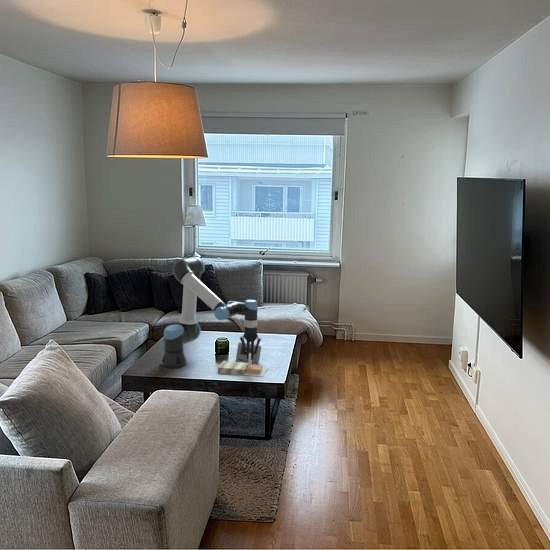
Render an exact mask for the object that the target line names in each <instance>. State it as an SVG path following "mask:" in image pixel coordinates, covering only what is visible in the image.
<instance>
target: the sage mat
mask: <svg viewBox="0 0 550 550" xmlns="http://www.w3.org/2000/svg"><path fill="white" fill-rule="evenodd" d="M267 370H269V368H268V367H262V371H261V372H260V374H255V373H245V374H244V376H248V377H257V376H258V377H259V378H264V376H265V374H266V373H265V372H267Z"/></svg>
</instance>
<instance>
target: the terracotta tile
mask: <svg viewBox="0 0 550 550" xmlns="http://www.w3.org/2000/svg"><path fill="white" fill-rule="evenodd" d="M262 368H263V365H256V364H252V365H251V366H248V367H247V368H246V373H255V374H260V372H261V371H262Z"/></svg>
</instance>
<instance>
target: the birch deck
mask: <svg viewBox="0 0 550 550" xmlns="http://www.w3.org/2000/svg"><path fill="white" fill-rule="evenodd" d="M248 366H249V365H248V362H243V361H231V360H230V361H229V360H223V361H222V362H221V363H220V364H219V365H218V367H217V373H221V372H226V373H225V374H231V373H235V374H234V375H242V374H243V376H245V373H246V368H247V367H248Z"/></svg>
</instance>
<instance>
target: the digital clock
mask: <svg viewBox="0 0 550 550" xmlns="http://www.w3.org/2000/svg"><path fill="white" fill-rule="evenodd" d="M245 346H246V350H247V342H245ZM255 348H256V344H255V343H254V351H255ZM261 352H262V346H261V345H260V344H259V346H258V350H257V353H256V354H254V359H253V360H252V362H254V364H259V362H260V358H261ZM235 354H236V355H235V360H237V361H241V360H242V361H241V362H246V361H248V360H247V354H246V353H244V351H243V347H242V342H241V341H240V342H238V344H237V349H236V353H235ZM249 354H251V343H250V353H249Z"/></svg>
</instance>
